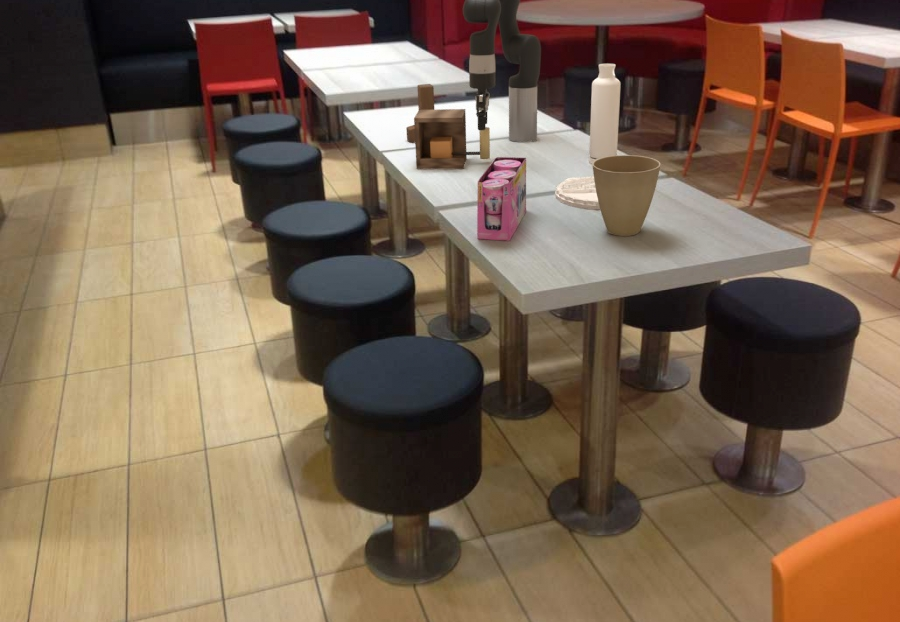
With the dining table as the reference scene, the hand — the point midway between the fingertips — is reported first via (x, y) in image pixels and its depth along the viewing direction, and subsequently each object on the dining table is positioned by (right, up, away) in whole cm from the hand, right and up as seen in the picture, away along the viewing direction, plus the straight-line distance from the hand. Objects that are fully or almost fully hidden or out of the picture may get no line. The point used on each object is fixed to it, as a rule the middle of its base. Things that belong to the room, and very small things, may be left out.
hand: (482, 126), depth 246 cm
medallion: (+29, -24, -27) cm, 46 cm away
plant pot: (+30, -36, -54) cm, 71 cm away
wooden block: (-19, +3, +34) cm, 39 cm away
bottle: (+36, -10, +1) cm, 37 cm away
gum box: (+3, -34, -47) cm, 58 cm away
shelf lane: (-12, -10, +6) cm, 17 cm away
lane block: (-6, -9, +5) cm, 12 cm away
